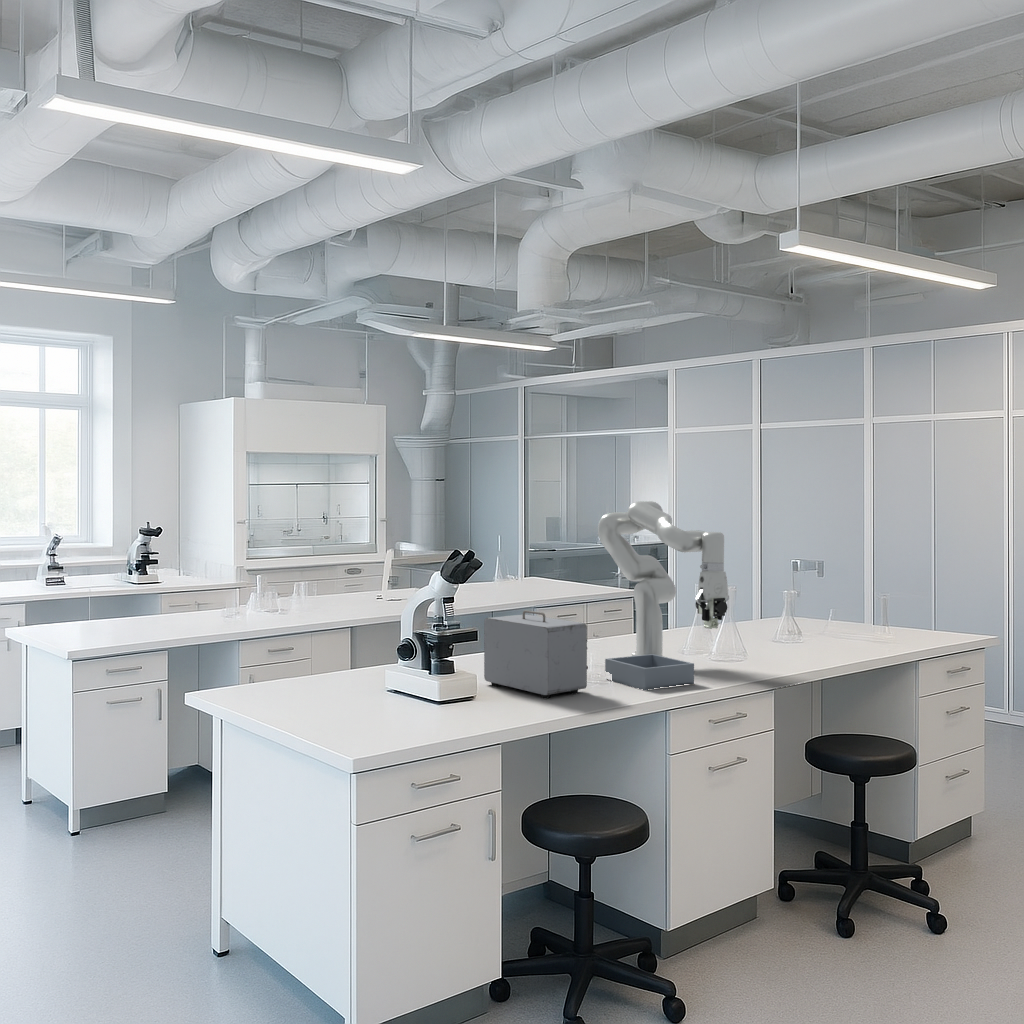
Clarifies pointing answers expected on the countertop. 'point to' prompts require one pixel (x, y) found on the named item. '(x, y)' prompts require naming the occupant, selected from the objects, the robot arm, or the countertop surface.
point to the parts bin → (649, 671)
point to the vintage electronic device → (535, 653)
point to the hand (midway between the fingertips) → (712, 619)
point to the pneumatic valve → (714, 611)
